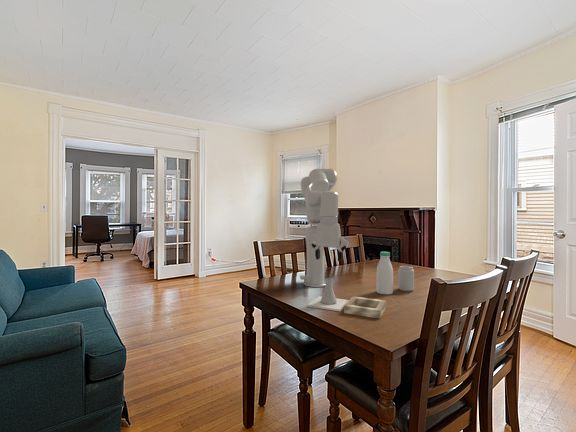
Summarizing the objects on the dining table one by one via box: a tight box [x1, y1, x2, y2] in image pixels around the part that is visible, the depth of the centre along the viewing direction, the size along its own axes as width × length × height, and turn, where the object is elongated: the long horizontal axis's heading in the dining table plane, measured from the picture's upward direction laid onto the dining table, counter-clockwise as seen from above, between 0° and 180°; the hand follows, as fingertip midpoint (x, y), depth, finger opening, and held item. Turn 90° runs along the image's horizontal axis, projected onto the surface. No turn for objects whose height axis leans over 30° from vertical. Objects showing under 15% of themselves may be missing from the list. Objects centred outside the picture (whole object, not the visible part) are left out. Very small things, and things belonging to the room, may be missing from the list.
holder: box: [343, 296, 387, 320], centre depth 126 cm, size 14×14×3 cm
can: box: [397, 265, 415, 292], centre depth 156 cm, size 8×8×12 cm
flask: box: [320, 278, 337, 304], centre depth 134 cm, size 7×7×10 cm
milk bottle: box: [375, 251, 394, 295], centre depth 151 cm, size 8×8×20 cm
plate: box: [307, 295, 350, 312], centre depth 134 cm, size 14×14×1 cm
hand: (328, 259), depth 133 cm, fingers open, 9 cm apart
